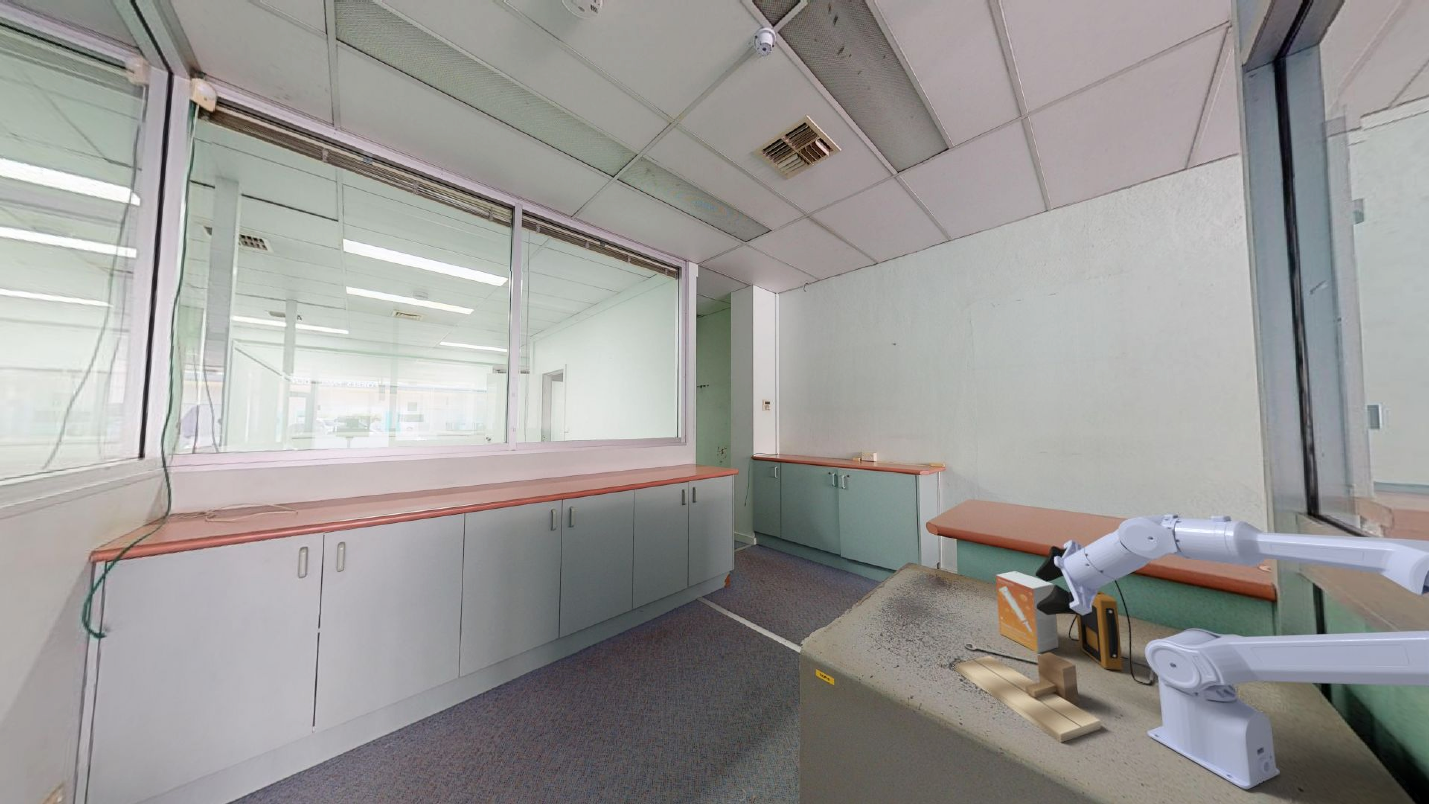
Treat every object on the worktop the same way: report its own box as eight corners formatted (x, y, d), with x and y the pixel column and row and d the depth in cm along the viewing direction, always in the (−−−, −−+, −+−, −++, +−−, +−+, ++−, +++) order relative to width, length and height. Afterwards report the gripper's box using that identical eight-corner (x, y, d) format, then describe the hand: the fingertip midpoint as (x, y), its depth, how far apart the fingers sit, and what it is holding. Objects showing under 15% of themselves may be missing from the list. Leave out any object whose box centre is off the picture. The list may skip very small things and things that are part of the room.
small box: (999, 634, 87) (994, 574, 88) (1019, 629, 89) (1015, 570, 90) (1038, 654, 80) (1033, 588, 80) (1060, 648, 82) (1055, 583, 82)
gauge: (1078, 702, 66) (1075, 665, 66) (1043, 713, 64) (1040, 674, 64) (1052, 687, 70) (1049, 652, 70) (1018, 697, 68) (1016, 661, 68)
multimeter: (1190, 689, 68) (1178, 571, 70) (1121, 683, 70) (1111, 569, 71) (1121, 643, 83) (1112, 545, 84) (1066, 639, 85) (1058, 544, 86)
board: (1100, 728, 60) (1100, 720, 60) (1061, 742, 58) (1060, 733, 58) (989, 661, 78) (989, 655, 78) (955, 670, 75) (955, 664, 75)
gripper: (1073, 518, 73) (1019, 552, 82) (1081, 581, 63) (1019, 612, 72) (1115, 541, 71) (1056, 573, 80) (1130, 610, 61) (1061, 637, 70)
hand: (1041, 593), depth 76 cm, fingers open, 7 cm apart
